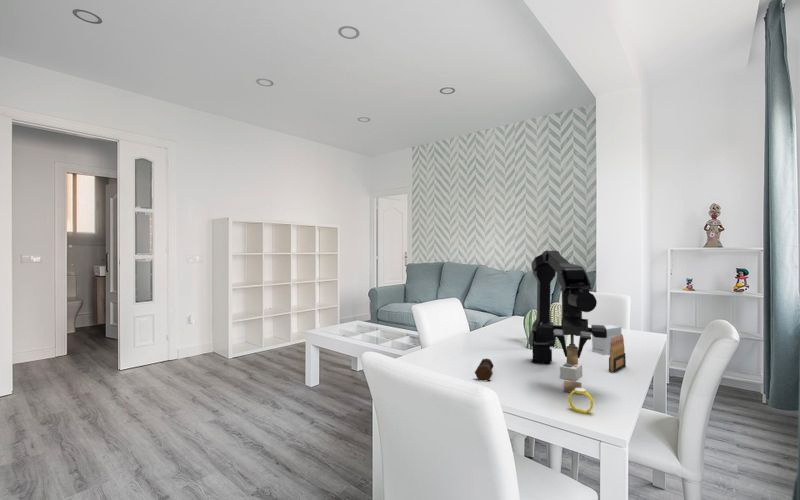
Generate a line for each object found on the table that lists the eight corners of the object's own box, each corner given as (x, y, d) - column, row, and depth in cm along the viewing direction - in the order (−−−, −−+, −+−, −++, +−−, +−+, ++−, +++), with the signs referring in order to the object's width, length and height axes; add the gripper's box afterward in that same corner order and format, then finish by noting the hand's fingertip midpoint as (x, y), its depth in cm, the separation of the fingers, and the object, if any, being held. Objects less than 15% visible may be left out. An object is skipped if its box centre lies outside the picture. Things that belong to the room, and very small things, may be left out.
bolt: (489, 372, 141) (485, 385, 127) (477, 365, 142) (472, 376, 128) (497, 359, 140) (494, 370, 126) (485, 351, 142) (481, 361, 127)
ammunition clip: (614, 373, 133) (614, 338, 133) (608, 372, 135) (608, 337, 135) (625, 366, 140) (625, 334, 140) (620, 365, 142) (619, 333, 142)
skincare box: (608, 348, 166) (608, 324, 166) (622, 352, 160) (622, 326, 160) (591, 351, 162) (591, 326, 162) (605, 355, 156) (604, 329, 156)
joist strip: (563, 392, 116) (563, 391, 116) (565, 368, 139) (565, 367, 139) (581, 394, 114) (581, 393, 114) (580, 370, 137) (580, 369, 137)
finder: (560, 378, 129) (559, 365, 129) (567, 373, 134) (567, 360, 134) (575, 381, 126) (575, 368, 126) (582, 376, 131) (582, 363, 131)
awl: (566, 364, 118) (566, 335, 118) (566, 361, 121) (566, 333, 121) (578, 365, 117) (577, 336, 117) (577, 362, 120) (577, 334, 120)
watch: (568, 411, 103) (566, 389, 104) (571, 408, 105) (569, 386, 106) (592, 415, 100) (590, 392, 100) (594, 412, 102) (592, 389, 102)
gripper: (537, 309, 115) (538, 360, 115) (608, 312, 108) (608, 368, 108) (540, 304, 126) (541, 351, 126) (605, 307, 118) (605, 357, 118)
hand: (572, 357), depth 119 cm, fingers closed on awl, 3 cm apart
